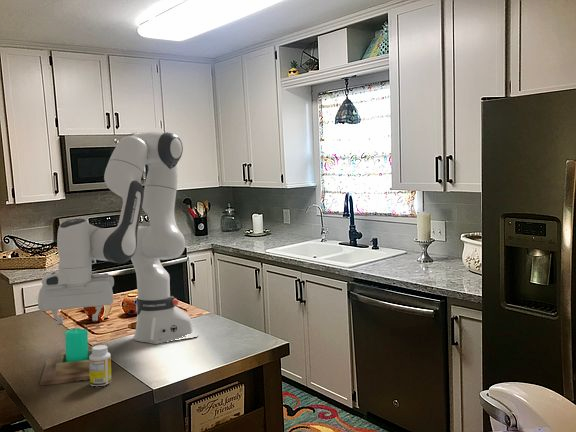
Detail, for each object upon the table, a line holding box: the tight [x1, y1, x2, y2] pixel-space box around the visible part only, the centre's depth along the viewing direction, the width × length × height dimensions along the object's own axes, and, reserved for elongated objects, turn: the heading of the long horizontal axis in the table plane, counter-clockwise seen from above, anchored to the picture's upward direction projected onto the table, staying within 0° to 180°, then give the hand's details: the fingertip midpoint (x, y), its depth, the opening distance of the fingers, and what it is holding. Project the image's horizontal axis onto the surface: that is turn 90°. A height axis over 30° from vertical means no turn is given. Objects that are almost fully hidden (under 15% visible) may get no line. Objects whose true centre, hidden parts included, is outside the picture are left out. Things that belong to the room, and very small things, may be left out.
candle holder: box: [39, 349, 92, 387], centre depth 151 cm, size 18×18×4 cm
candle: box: [64, 325, 89, 362], centre depth 151 cm, size 6×6×12 cm
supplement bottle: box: [89, 344, 112, 387], centre depth 141 cm, size 6×6×10 cm
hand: (77, 322), depth 151 cm, fingers open, 8 cm apart
